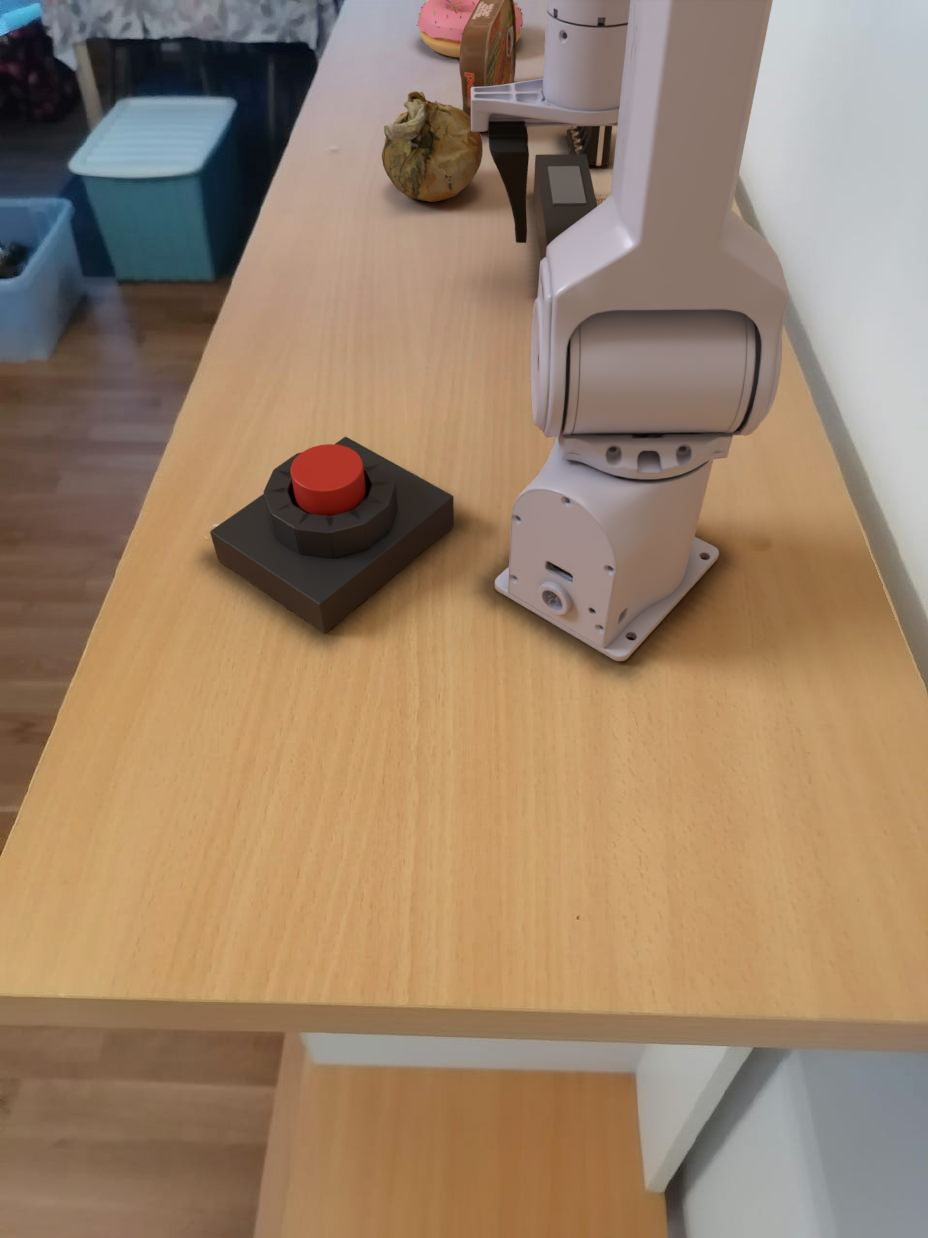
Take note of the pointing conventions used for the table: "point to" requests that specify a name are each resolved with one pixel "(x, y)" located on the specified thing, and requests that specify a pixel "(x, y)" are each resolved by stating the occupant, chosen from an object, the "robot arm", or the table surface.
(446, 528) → the button block
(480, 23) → the tin
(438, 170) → the onion
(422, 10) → the doughnut
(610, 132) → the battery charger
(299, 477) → the button
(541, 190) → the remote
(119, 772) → the table surface
